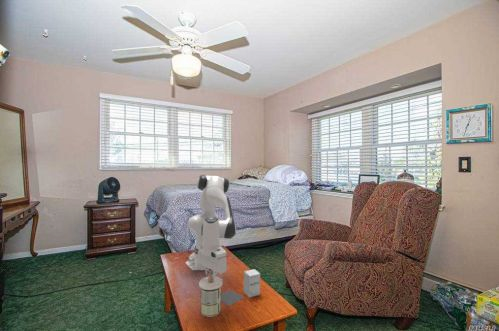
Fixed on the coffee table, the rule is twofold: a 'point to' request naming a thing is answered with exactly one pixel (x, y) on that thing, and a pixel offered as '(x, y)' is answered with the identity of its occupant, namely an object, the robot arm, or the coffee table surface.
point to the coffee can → (210, 302)
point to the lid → (210, 282)
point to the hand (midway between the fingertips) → (210, 276)
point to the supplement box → (251, 283)
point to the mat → (230, 297)
